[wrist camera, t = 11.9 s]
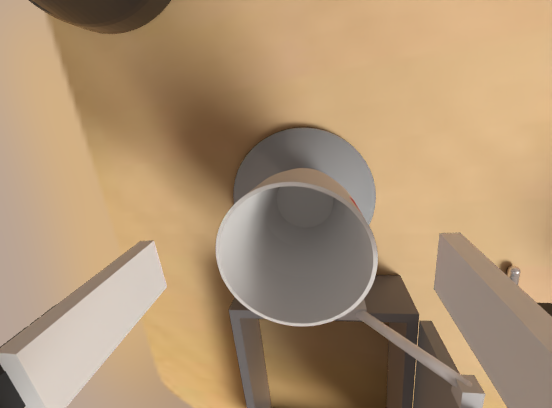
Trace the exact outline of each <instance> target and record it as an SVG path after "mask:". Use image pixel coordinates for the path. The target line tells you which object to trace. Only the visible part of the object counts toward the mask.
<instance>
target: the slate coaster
mask: <svg viewBox="0 0 552 408" xmlns="http://www.w3.org/2000/svg"><path fill="white" fill-rule="evenodd" d="M297 168H309V169H314V170H318V171H320V172H323V173H325V174H326V175H328V176H330V177H331V178H332V179H334V180H335V181H337V182H338V183H339V184H340V185H342V186H343V187H344V188H345V189H346V190H347V191H348V193H349V194H350V195H351V197H352V198H353V200H354V201H355V203H356V205H357V206H358V208H359V210H360V212H361V213H362V215H363V217H364V218H365V220H366V222H367V223H368V225H369V224H370V222H371V219H372V217H373V213H374V209H375V200H376V193H375V185H374V180H373V177H372V174H371V171H370V169H369V167H368V165H367V163H366V161H365V160H364V159H363V157H362V156H361V155H360V153H359V152H358V151H357V150H356V149H355V148H354V147H353V146H352V145H351V144H349V143H348V142H347V141H345V140H344V139H342V138H341V137H339V136H337V135H335V134H333V133H330V132H328V131H325V130H321V129H316V128H307V127H305V128H292V129H287V130H283V131H280V132H277V133H275V134H273V135H271V136H269V137H267V138H266V139H264V140H262V141H261V142H259V143H258V144H257V145H256V146H255V147H254V148H253V149H252V150H251V151H250V152H249V153H248V154H247V156H246V157H245V159H244V160H243V162H242V163H241V165H240V167H239V169H238V172H237V175H236V178H235V183H234V193H233V197H234V204H235V203H236V202H237V201H238V200H240V199H241V198H242V197H243V196H245V195H246V194H247V193H248V192H250V191H251V190H252V189H254V188H255V187H256V186H258V185H259V184H260V183H261V182H263V181H264V180H266V179H267V178H269V177H271V176H273V175H275V174H277V173H280V172H284V171H288V170H292V169H297Z"/></svg>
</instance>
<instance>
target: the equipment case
mask: <svg viewBox="0 0 552 408" xmlns="http://www.w3.org/2000/svg"><path fill="white" fill-rule="evenodd" d="M229 314H230V320H231V325H232V330H233V336H234V341H235V346H236V352H237V357H238V363H239V368H240V373H241V379H242V384H243V389H244V395H245V400H246V405H247V408H272V406H271V400H270V393H269V386H268V379H267V372H266V366H265V359H264V352H263V345H262V338H261V332H260V325H259V319H265V318H263V317H261V316H259V315H257V314H255V313H254V312H252V311H250V310H249V309H248V308H246V307H245V306H244V305H243V304H242V303H240V302H239V301H238V300H237V299H236V298H235V297H234V300H233V302H232V304H231V306H230V308H229ZM334 321H360V322H364V323H366V324H367V325H369V326H370V327H371V328H373V329H374V330H376V331H377V332H378V333H380V334H381V335H383V336H384V337H385V338H387V339H388V340H389V342H388V371H387V401H386V408H412V402H413V408H483V402H484V397H485V393H484V391H483V389H482V388H481V386H480V384H479V383H478V381H477V379H476V378H475V376H474V375H460V373H459V371H458V370H457V368H456V366H455V364H454V362H453V360H452V358H451V356H450V355H449V353H448V351H447V349H446V347H445V345H444V343H443V341H442V340H441V338H440V336H439V334H438V332H437V330H436V328H435V326H434V325H433V323H432V321H420V323H419V336H418V346H417V335H418V322H419V313H418V311H417V309H416V307H415V305H414V303H413V301H412V299H411V297H410V295H409V293H408V291H407V289H406V287H405V284H404V282H403V280H402V278H401V276H400V275H376V276H375V279H374V282H373V284H372V287H371V289H370V290H369V292H368V294H367V295H366V297H365V298H364V299H363V300H362V301H361V303H360V304H359V305H358V306H356V307H355V308H354V309H353V310H352V311H350V312H349V313H347V314H346V315H344V316H342V317H341V318H338V319H336V320H334ZM382 322H389V327H388V326H387V325H385V324H384V323H382ZM416 360H417V362H416ZM415 362H416V375H415ZM414 375H415V388H414ZM413 389H414V401H413Z"/></svg>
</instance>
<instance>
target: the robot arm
mask: <svg viewBox="0 0 552 408" xmlns="http://www.w3.org/2000/svg"><path fill="white" fill-rule="evenodd" d="M29 1H30V2H32V3H33V4H34V5H36V6H37V7H38V8H40V9H41V10H43V11H45V12H46V13H48V14H50V15H52V16H54V17H56V18H57V19H60V20H62V21H64V22H67V23H70V24H73V25H76V26H79V27H81V28H84V29H87V30H90V31H94V32H99V33H107V34H116V33H124V32H128V31H131V30H134V29H137V28H139V27H141V26H143V25H145V24H147V23H148V22H150V21H151V20H153V19H154V18H155V17H156V16H157V15H159V14H160V13H161V12H162V11H163V10H164V8H165V7H166V6H167V5H168V4H169V2H170V1H171V0H29ZM166 287H167V285H166V282H165V278H164V274H163V271H162V267H161V264H160V260H159V257H158V253H157V250H156V246H155V243H154V241H140V242H138V243H137V244H136V245H134V246H133V247H132V248H130V249H129V250H128V251H127V252H125V253H124V254H123V255H121V256H120V257H119V258H117V259H116V260H115V261H113V262H112V263H111V264H110V265H108V266H107V267H106V268H104V269H103V270H102V271H100V272H99V273H98V274H96V275H95V276H94V277H92V278H91V279H90V280H88V281H87V282H86V283H85V284H84V285H82V286H81V287H79V288H78V289H77V290H75V291H74V292H73V293H71V294H70V295H69V296H67V297H66V298H65V299H64V300H62V301H61V302H60V303H58V304H57V305H55V306H54V307H52V308H51V309H50V310H48V311H47V312H46V313H44V314H43V315H42V316H41V317H40V318H38V319H37V320H35V321H34V322H32V323H31V324H30V326H28V327H26V328H24V329H23V330H22V331H21V332H19V333H18V334H17V335H16V336H14V337H13V338H12V339H10V340H9V341H7V342H6V343H5V344H3V345H2V346H1V347H0V408H24V407H26V408H66V407H67V406H68V405H69V403H70V402H71V401H72V400H73V399H74V397H75V396H76V395H77V394H78V392H79V391H80V390H81V389H82V388H83V387H84V385H85V384H86V383H87V382H88V381H89V379H90V378H91V377H92V376H93V375H94V373H95V372H96V371H97V370H98V368H99V367H100V366H101V365H102V364H103V363H104V362H105V360H106V359H107V358H108V357H109V356H110V354H111V353H112V352H113V351H114V350H115V348H116V347H117V346H118V345H119V344H120V342H121V341H122V340H123V339H124V338H125V336H126V335H127V334H128V333H129V332H130V330H131V329H132V328H133V327H134V326H135V324H136V323H137V322H138V321H139V320H140V318H141V317H142V316H143V315H144V314H145V312H146V311H147V310H148V309H149V308H150V307H151V305H152V304H153V303H154V302H155V301H156V299H157V298H158V297H159V296H160V295H161V293H162V292H163V291H164V290H165V289H166ZM434 290H435V291H436V293H437V295H438V296H439V298H440V299H441V301H442V303H443V304H444V306H445V308H446V309H447V311H448V312H449V314H450V316H451V317H452V319H453V320H454V322H455V324H456V325H457V327H458V329H459V330H460V332H461V333H462V335H463V337H464V338H465V340H466V341H467V343H468V345H469V346H470V348H471V350H472V351H473V353H474V354H475V356H476V358H477V359H478V361H479V362H480V364H481V366H482V367H483V369H484V371H485V372H486V374H487V375H488V377H489V379H490V380H491V382H492V383H493V385H494V387H495V388H496V390H497V392H498V393H499V395H500V396H501V398H502V400H503V401H504V403H505V404H506V406H507V408H552V304H551V303H536V302H535V301H534V300H533V299H532V298H531V297H530V296H529V295H528V294H526V293H525V292H524V291H523V290H522V289H521V288H520V287H519V286H518V285H517V284H516V283H514V282H513V281H512V280H511V279H510V278H509V277H508V276H507V275H506V274H505V273H504V272H502V271H501V270H500V269H499V268H498V267H497V266H496V265H495V264H494V263H493V262H492V261H490V260H489V259H488V258H487V257H486V256H485V255H484V254H483V253H482V252H481V251H479V250H478V249H477V248H476V247H475V246H474V245H473V244H472V243H471V242H470V241H469V240H467V239H466V238H465V237H464V236H463V235H462V234H461V233H440V235H439V244H438V254H437V263H436V273H435V282H434Z"/></svg>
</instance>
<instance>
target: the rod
mask: <svg viewBox="0 0 552 408" xmlns="http://www.w3.org/2000/svg"><path fill="white" fill-rule="evenodd" d="M507 276H508V277H509V278H510V279H511V280H512V281H513V282H514V283H516V284H517V285H518V282H519V277H520V269H519V268H518V267H516V266H510V267H509V268H508V270H507Z"/></svg>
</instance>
